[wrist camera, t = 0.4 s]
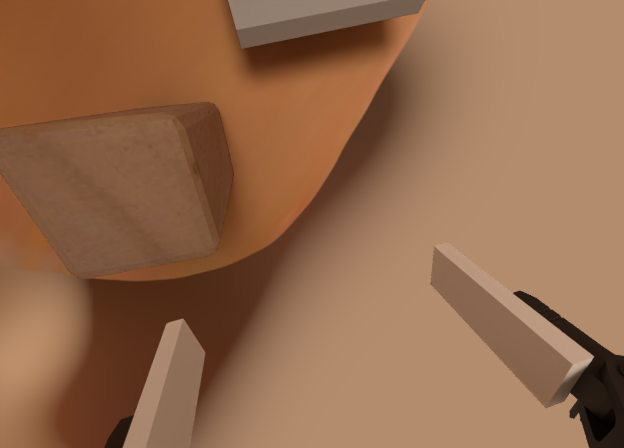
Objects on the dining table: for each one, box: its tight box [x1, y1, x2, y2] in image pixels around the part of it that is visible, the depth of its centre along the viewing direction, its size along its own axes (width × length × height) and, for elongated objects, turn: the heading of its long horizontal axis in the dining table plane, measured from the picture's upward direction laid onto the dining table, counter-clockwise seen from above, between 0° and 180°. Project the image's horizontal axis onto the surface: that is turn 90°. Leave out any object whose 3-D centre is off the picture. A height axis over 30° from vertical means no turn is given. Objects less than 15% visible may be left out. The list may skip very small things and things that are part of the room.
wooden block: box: [0, 102, 234, 279], centre depth 24 cm, size 10×10×20 cm
